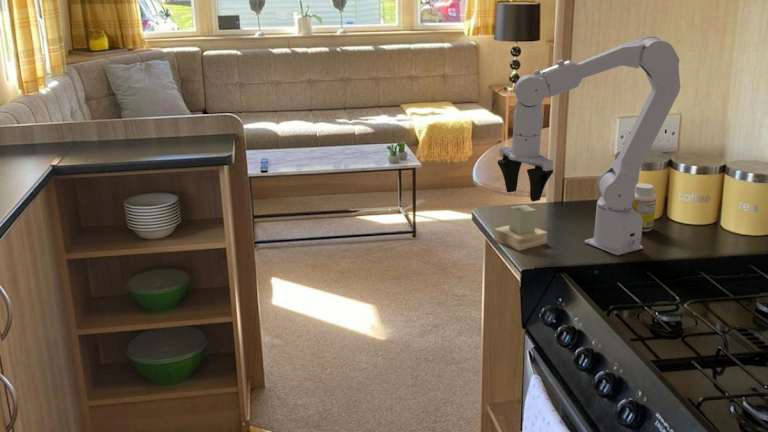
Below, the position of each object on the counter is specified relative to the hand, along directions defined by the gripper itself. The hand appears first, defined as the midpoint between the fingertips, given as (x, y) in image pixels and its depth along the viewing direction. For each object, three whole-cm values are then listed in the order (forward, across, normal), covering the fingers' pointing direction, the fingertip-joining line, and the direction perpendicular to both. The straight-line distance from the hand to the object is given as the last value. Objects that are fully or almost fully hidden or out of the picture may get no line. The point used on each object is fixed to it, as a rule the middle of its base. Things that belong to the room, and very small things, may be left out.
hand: (523, 195), depth 169 cm
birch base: (+11, 0, 0) cm, 11 cm away
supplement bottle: (+11, +8, +29) cm, 32 cm away
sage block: (+8, 0, 0) cm, 8 cm away
